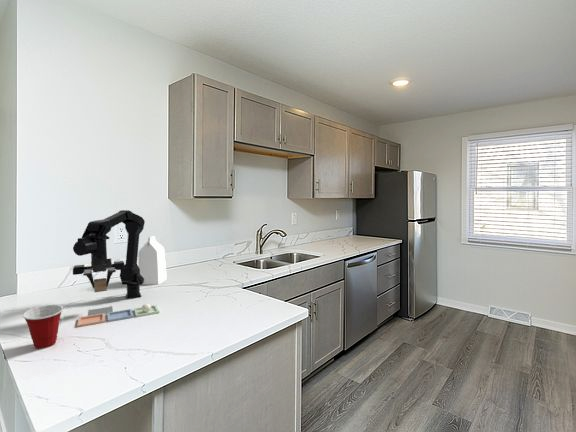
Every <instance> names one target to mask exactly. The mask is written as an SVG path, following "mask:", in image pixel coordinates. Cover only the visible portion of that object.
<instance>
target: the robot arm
mask: <svg viewBox="0 0 576 432" xmlns="http://www.w3.org/2000/svg"><path fill="white" fill-rule="evenodd" d="M121 223H122V224H124V228H125V231H126V232H127V244H126V245H127V246H126V255H125V257H126V258H125V262H124V261H123V260H118V261H113V263H112V258H108V256H107V255H108V254H107V253H108V252H107V249H108V248H107V240H110V237H109V236H108V235H107V234H109V232H111V231H112V228H114V227H115V226H118V225H120V224H121ZM145 223H146V222H145V219H144V218H143V217H142V216H141V215H139V214H137V213H133V211H131V210H128V209H127V210H123V209H121V210H119V211H118V212H116V213H114V214H112V215H110V216H107V217H106V218H103V219H97V220H92V221H89V222H88V223H87V225H86V228H85V229H84V232H83V234H82V235H81V237H79V238H77V241H76V242H75V243H74V245H73V247H72V250H73V252H74V254H75V255H77V256H80V257H82V256H87V255H89V254H90V259H91V260H90V263H91V264H90V265H88V266H85V264H76V265H74V266H72V275H74V276H77V275H83V276H85V277H86V278H87V279H88V280H89V282H90V284H91V287H92V289H93V290H94V276H93V273H99V272H103V273H104V272H107V273H106V283H107V288H108V287H109V283H110V279H111V277H112V275H113V273H116V271H120V272H119V278H120V281H121V285H123V286H125V285H126V294H125V298H126V299H134V298H139V297H140V298H141V297H142V295H141V292H140V286H141V285H143V284H142V283H144V278H143V277H142V276H141V275H140V269H139V267H138V257H139V243H140V242H139V241H140V234H141V233H142V232H143V230H144V229H145V228H144V227H145Z"/></svg>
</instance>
